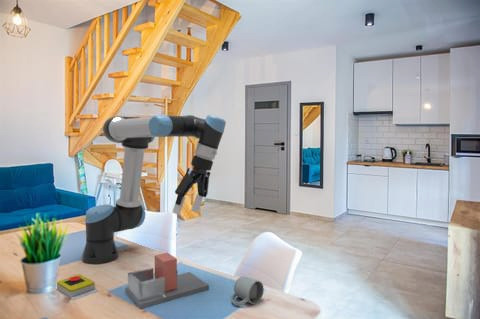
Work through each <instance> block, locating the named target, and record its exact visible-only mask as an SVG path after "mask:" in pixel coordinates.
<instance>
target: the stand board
mask: <svg viewBox="0 0 480 319" xmlns="http://www.w3.org/2000/svg"><path fill="white" fill-rule="evenodd" d="M209 289H210V284H208V283H206V282H205V280H204V281H203V280H202V279H201V278H199V277H198V276H196V275H195V274H193V272H191V271H188V272H185V273H184V272H183V273H179V274H178V275H177V289H173V290H169V291H166V292H165V295H162V296H159V297H155V298H151V299H148V300H144V301H140V302H139V301H138V300H137V299H136V297H135V296H134V295H133V294H132V293H131V292H130V291H129V290H128V286H126V287H125V288H124V292H125V294H126V295H127V296H128V298H129V299H131V300H132V302H133V303H134V304H135V305H136V306H137V307H138V309H140V310H141V309H145V308H147V307H152V306H154V305H158V304H162V303H165V302H169V301H172V300H175V299H176V300H177V299H179V298H182V297H186V296H190V295H193V294H197V293H200V292H204V291H208V290H209Z"/></svg>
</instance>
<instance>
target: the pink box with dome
mask: <svg viewBox="0 0 480 319" xmlns="http://www.w3.org/2000/svg"><path fill="white" fill-rule="evenodd" d="M177 275H179V274H178V258H176V257H174V255H172V254H170V253H168V252H164V253H159V254H154V279H156V278H160V277H164V278H165V292H166V291H169V290H173V289H177Z"/></svg>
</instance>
